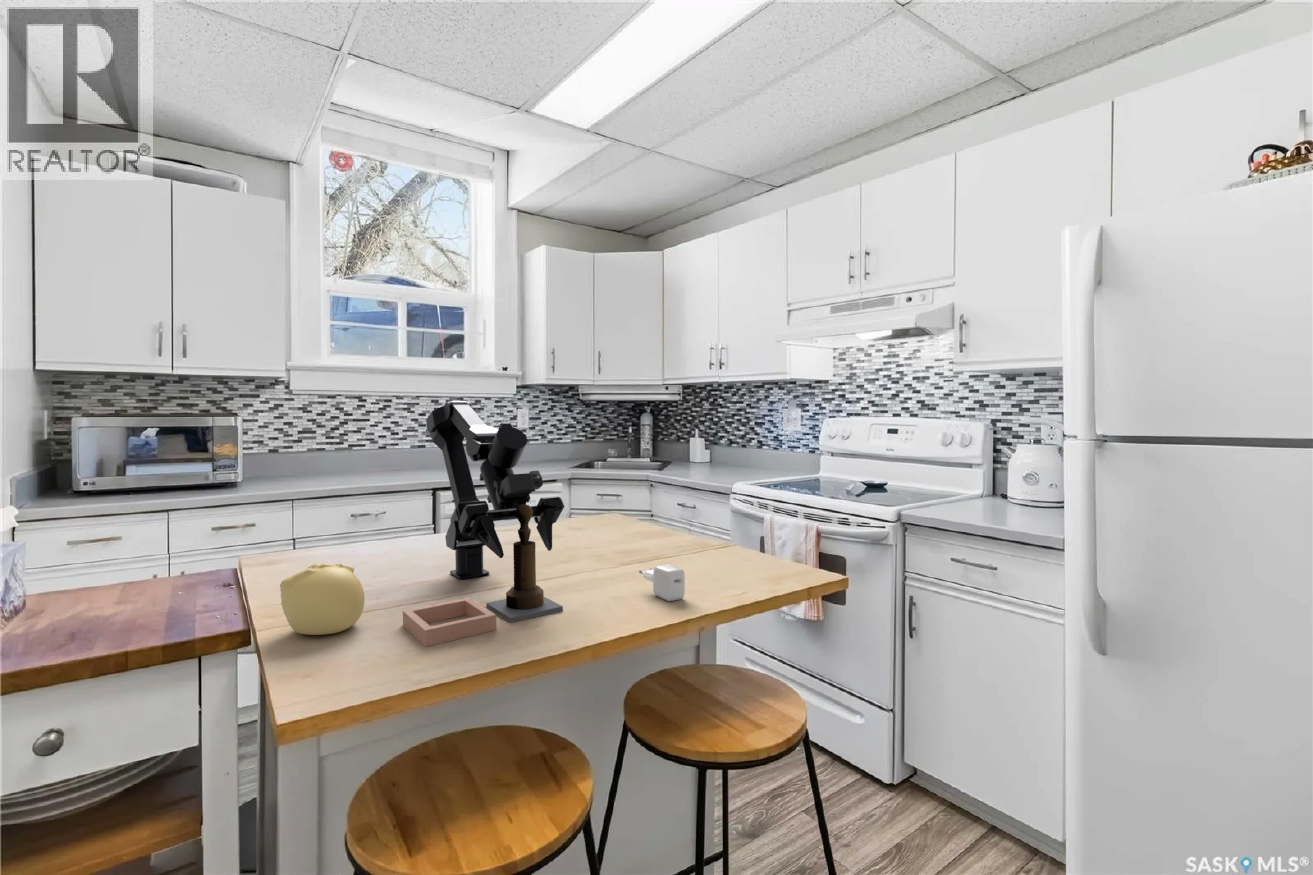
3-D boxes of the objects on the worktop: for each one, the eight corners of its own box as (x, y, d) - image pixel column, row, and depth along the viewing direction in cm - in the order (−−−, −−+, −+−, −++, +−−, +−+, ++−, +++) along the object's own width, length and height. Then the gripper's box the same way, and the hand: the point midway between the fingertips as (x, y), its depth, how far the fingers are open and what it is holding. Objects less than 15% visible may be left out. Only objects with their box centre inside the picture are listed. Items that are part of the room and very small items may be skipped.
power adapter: (635, 588, 126) (635, 559, 125) (655, 584, 128) (655, 556, 128) (666, 603, 116) (666, 572, 116) (688, 599, 119) (688, 568, 119)
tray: (402, 625, 105) (402, 610, 105) (469, 611, 112) (469, 597, 112) (425, 646, 96) (425, 630, 96) (496, 629, 103) (496, 614, 103)
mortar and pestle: (531, 596, 118) (530, 500, 117) (550, 604, 113) (550, 504, 112) (499, 603, 114) (498, 504, 113) (518, 612, 109) (517, 509, 108)
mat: (486, 607, 114) (486, 603, 114) (536, 596, 120) (536, 592, 120) (510, 622, 106) (510, 618, 106) (562, 610, 112) (562, 606, 112)
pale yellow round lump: (344, 612, 111) (342, 552, 111) (377, 628, 104) (376, 563, 103) (272, 630, 102) (270, 565, 102) (303, 649, 95) (301, 578, 94)
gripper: (462, 459, 109) (487, 533, 101) (559, 454, 120) (589, 520, 112) (448, 498, 116) (471, 570, 108) (541, 490, 127) (568, 555, 119)
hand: (526, 553), depth 112 cm, fingers open, 9 cm apart
